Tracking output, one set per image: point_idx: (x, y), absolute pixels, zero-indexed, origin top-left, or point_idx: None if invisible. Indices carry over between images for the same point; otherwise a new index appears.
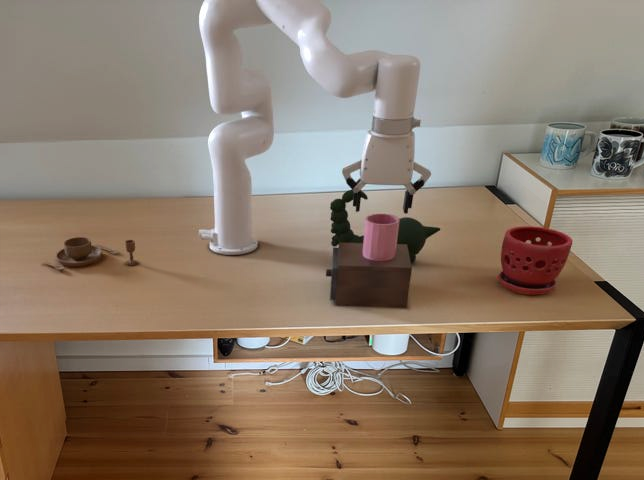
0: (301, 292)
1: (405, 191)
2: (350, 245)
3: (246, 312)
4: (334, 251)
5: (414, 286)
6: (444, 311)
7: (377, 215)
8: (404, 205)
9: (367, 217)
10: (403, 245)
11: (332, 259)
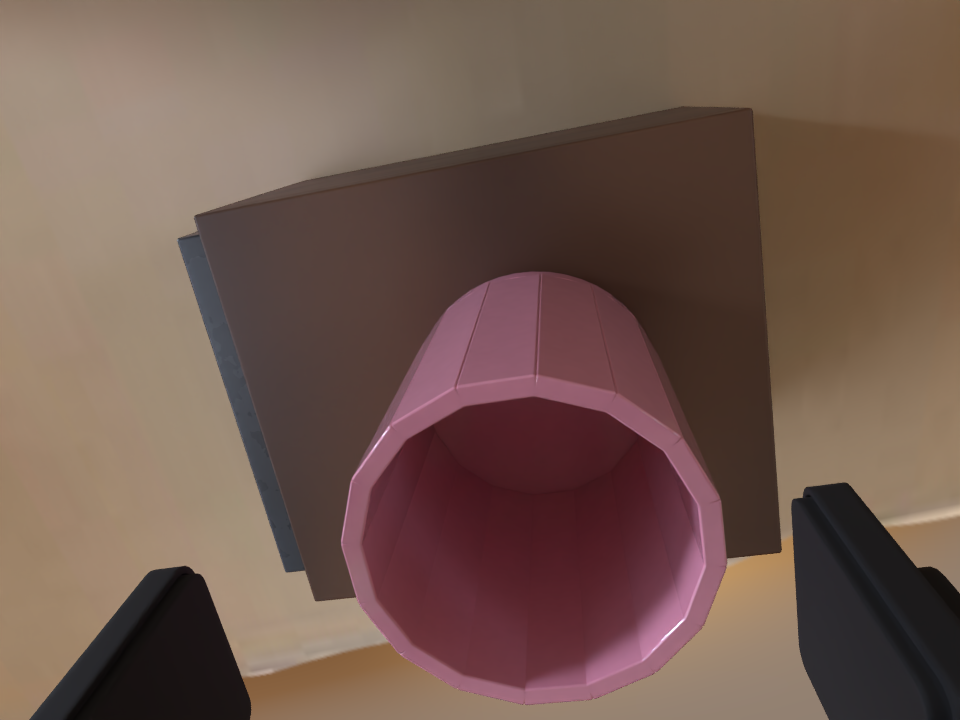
0: (184, 376)
1: (924, 716)
2: (296, 255)
3: (52, 604)
4: (212, 316)
5: (760, 139)
6: (907, 410)
7: (452, 406)
8: (831, 675)
9: (359, 540)
10: (721, 142)
11: (242, 429)
